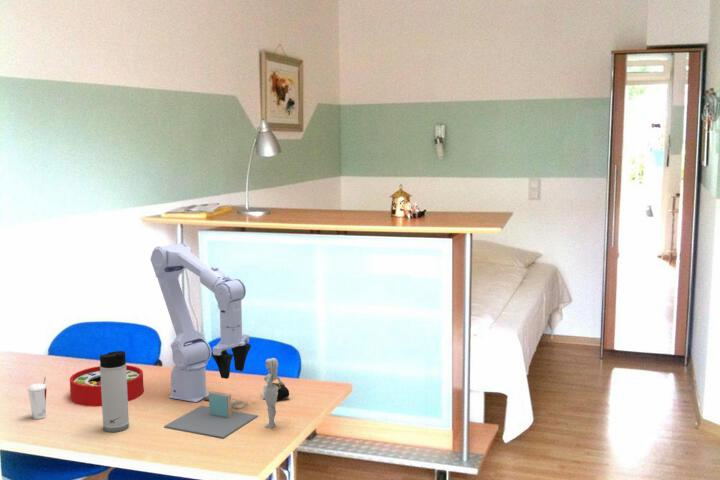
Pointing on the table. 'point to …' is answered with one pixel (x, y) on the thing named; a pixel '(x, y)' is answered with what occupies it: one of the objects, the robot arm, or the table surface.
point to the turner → (233, 403)
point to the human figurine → (271, 389)
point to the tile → (220, 404)
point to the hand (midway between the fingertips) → (232, 374)
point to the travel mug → (114, 391)
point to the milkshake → (38, 399)
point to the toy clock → (89, 385)
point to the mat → (210, 422)
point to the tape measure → (281, 391)
